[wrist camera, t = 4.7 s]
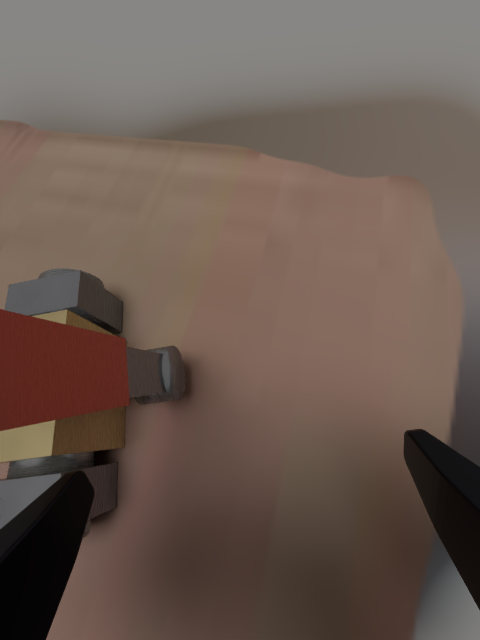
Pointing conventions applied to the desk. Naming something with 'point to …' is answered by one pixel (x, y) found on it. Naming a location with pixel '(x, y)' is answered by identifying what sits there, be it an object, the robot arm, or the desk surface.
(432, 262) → the desk surface
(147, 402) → the lever
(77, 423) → the valve
